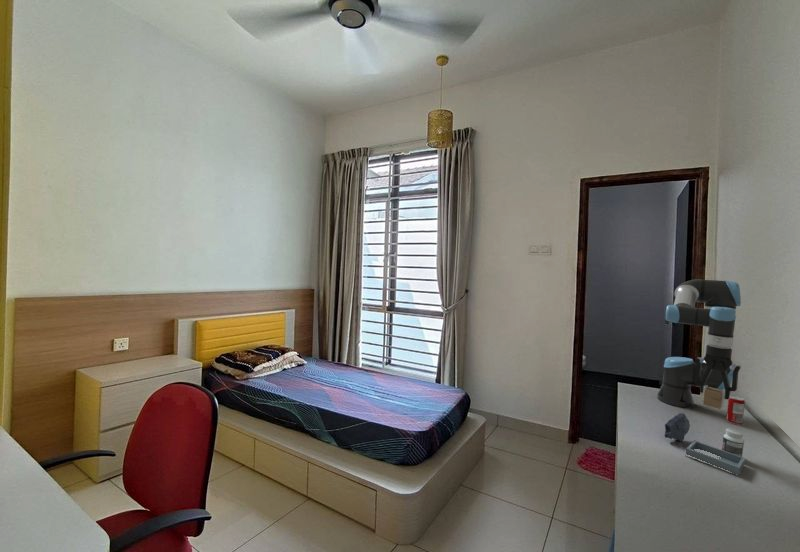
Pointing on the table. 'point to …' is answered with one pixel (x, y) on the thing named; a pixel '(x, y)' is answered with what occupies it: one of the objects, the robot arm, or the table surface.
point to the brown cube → (713, 397)
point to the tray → (726, 461)
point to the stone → (677, 427)
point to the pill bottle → (733, 442)
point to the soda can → (735, 410)
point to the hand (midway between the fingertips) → (713, 403)
